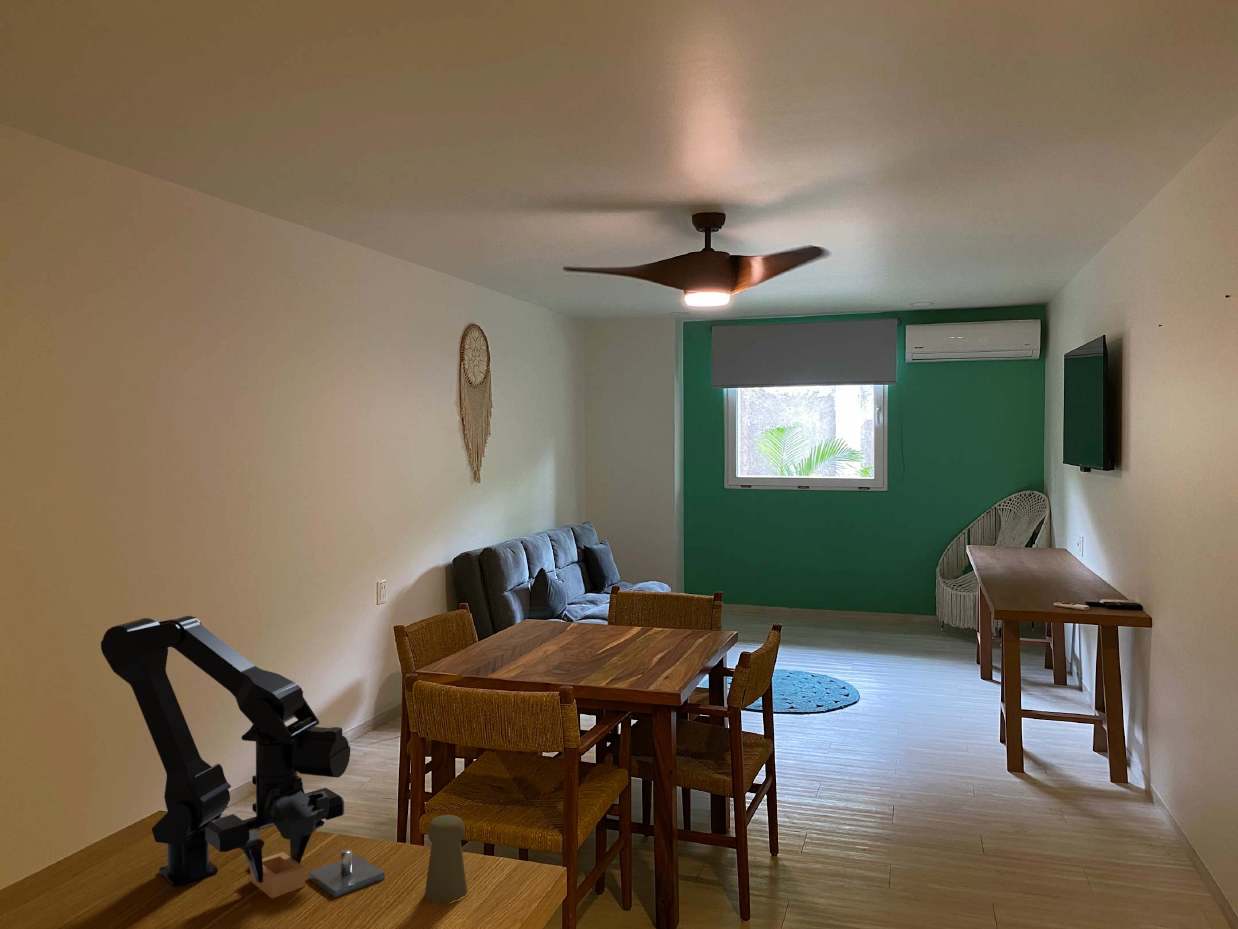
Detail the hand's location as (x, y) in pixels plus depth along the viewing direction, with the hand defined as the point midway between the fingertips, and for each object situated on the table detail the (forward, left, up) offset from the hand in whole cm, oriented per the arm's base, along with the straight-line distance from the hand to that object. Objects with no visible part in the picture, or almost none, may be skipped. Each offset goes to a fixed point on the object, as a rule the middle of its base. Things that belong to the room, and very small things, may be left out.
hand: (277, 875), depth 137 cm
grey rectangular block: (-5, 0, -1) cm, 6 cm away
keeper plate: (+6, +8, -1) cm, 10 cm away
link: (0, 0, -1) cm, 1 cm away
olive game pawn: (+20, +16, -1) cm, 25 cm away
